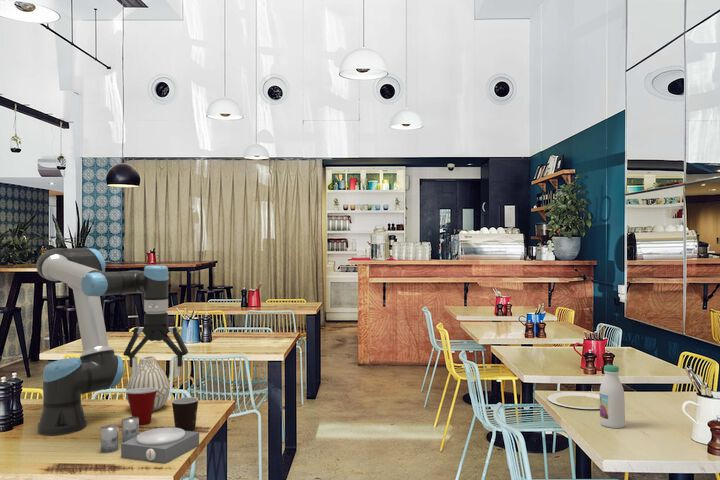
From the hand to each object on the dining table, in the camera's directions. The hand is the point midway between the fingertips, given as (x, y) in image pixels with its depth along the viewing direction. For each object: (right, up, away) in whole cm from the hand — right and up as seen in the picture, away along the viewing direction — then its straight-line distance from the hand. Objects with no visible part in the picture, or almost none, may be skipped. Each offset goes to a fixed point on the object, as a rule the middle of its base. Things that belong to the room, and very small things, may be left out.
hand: (156, 376), depth 188 cm
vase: (-15, -21, +33) cm, 42 cm away
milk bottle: (+152, -18, +5) cm, 154 cm away
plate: (+154, -19, +35) cm, 159 cm away
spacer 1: (-10, -20, -12) cm, 25 cm away
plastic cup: (-10, -20, +15) cm, 27 cm away
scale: (+7, -19, -14) cm, 25 cm away
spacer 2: (-7, -20, -4) cm, 21 cm away
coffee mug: (+8, -20, +8) cm, 23 cm away
